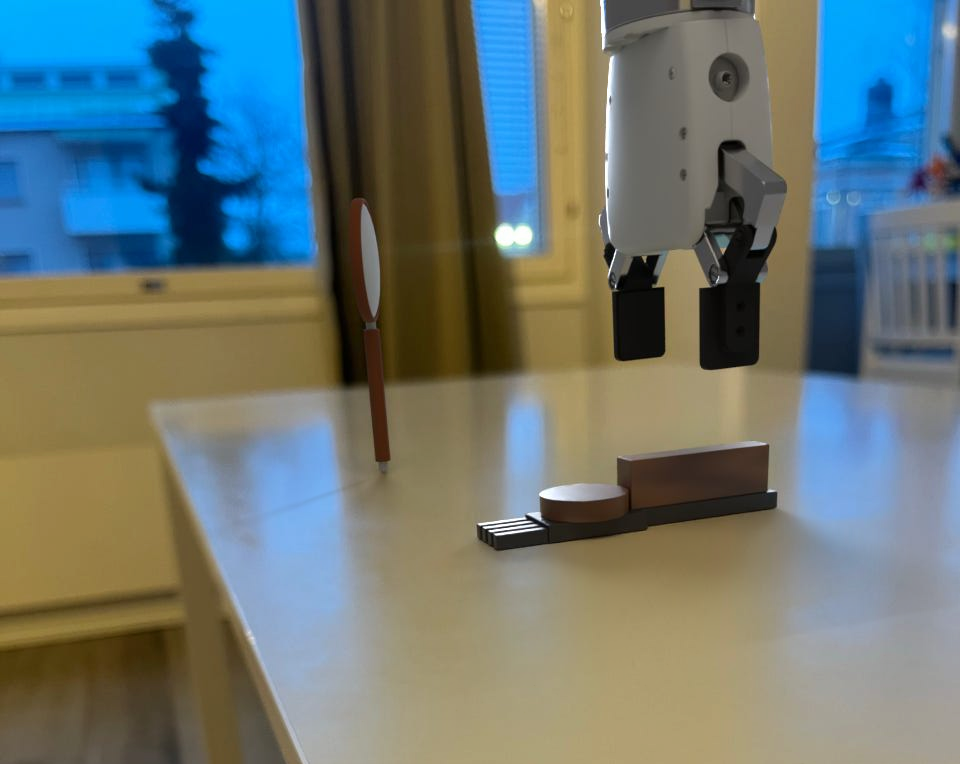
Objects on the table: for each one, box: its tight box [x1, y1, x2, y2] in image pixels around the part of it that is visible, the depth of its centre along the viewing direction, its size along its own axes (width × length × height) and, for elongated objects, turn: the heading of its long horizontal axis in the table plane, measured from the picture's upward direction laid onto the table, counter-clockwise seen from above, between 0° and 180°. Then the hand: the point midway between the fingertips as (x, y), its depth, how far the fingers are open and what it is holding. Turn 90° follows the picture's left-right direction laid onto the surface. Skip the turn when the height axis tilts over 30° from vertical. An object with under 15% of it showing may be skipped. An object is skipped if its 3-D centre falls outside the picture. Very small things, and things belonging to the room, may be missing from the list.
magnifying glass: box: [348, 197, 391, 475], centre depth 75 cm, size 9×2×20 cm, turn 177°
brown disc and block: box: [539, 440, 770, 523], centre depth 57 cm, size 14×5×3 cm, turn 109°
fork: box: [476, 488, 778, 551], centre depth 57 cm, size 18×4×1 cm, turn 109°
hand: (681, 362), depth 55 cm, fingers open, 9 cm apart
